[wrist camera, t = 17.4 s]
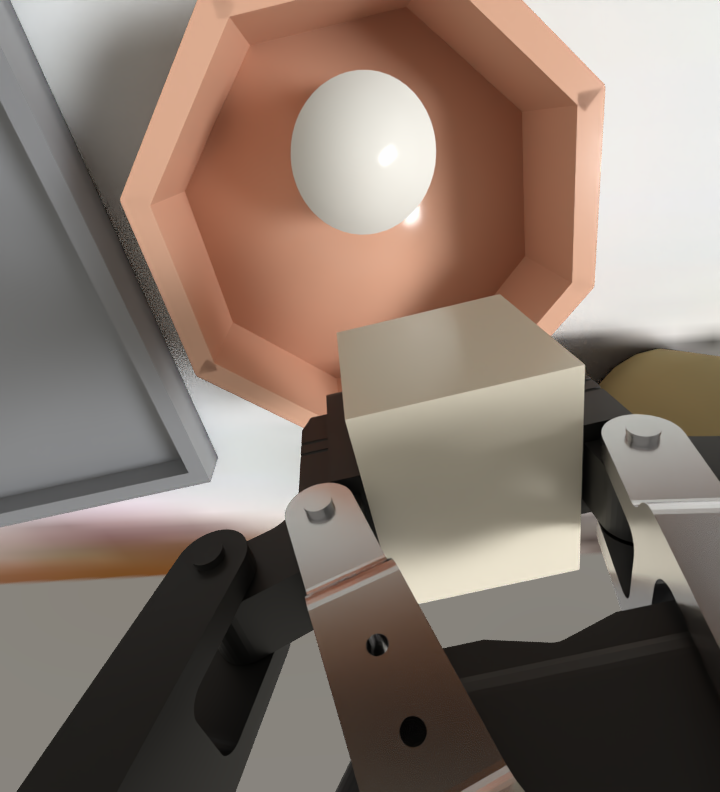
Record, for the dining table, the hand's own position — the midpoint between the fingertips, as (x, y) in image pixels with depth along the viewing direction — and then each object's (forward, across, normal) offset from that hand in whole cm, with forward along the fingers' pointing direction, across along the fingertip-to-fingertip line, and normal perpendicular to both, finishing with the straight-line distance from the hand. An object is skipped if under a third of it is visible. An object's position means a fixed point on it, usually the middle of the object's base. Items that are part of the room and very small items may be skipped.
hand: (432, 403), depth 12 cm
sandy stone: (0, 0, 0) cm, 0 cm away
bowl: (+10, 0, -3) cm, 11 cm away
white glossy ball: (+9, 0, -6) cm, 11 cm away
